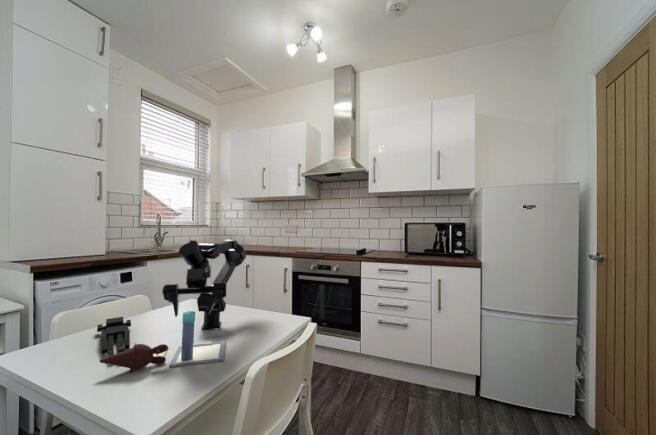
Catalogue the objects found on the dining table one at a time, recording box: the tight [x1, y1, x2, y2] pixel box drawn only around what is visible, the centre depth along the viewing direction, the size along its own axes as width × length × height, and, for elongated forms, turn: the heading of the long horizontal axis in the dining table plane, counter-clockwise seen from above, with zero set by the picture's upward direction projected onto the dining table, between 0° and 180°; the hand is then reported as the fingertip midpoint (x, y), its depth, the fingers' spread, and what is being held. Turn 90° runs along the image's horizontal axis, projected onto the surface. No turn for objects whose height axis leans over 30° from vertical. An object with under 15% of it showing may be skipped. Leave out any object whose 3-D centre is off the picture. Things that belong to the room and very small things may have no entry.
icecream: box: [99, 343, 169, 373], centre depth 73 cm, size 7×7×15 cm
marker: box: [181, 310, 196, 361], centre depth 78 cm, size 3×3×13 cm
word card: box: [153, 347, 169, 357], centre depth 82 cm, size 6×4×1 cm, turn 18°
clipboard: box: [168, 341, 227, 368], centre depth 82 cm, size 12×14×1 cm
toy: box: [96, 316, 132, 357], centre depth 87 cm, size 10×5×30 cm
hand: (192, 315), depth 84 cm, fingers open, 9 cm apart
